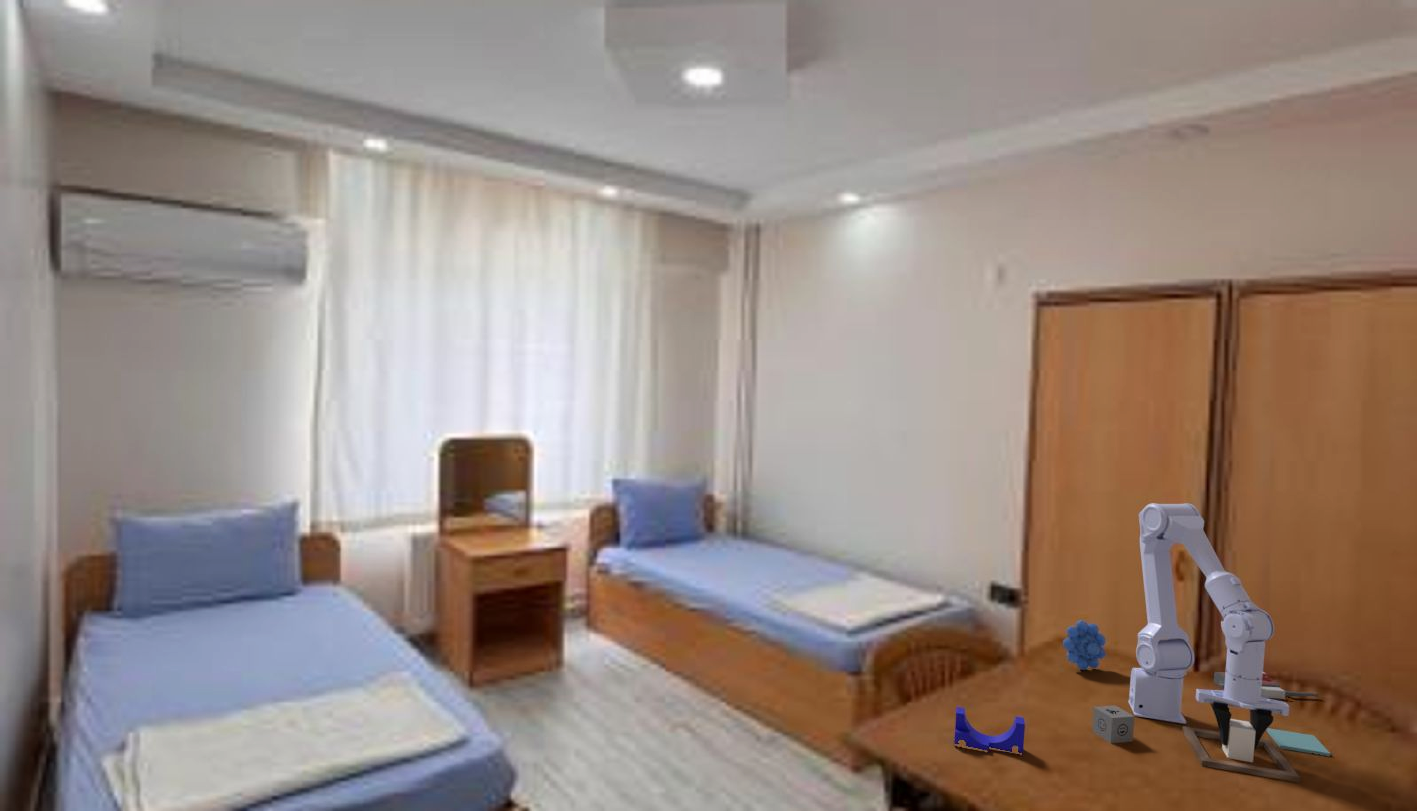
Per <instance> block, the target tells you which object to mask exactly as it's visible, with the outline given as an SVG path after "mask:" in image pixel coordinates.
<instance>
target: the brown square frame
mask: <svg viewBox="0 0 1417 811" xmlns="http://www.w3.org/2000/svg"><path fill="white" fill-rule="evenodd" d="M1182 733H1183V735H1184V736H1185V737H1184V738H1186V741H1188V743H1189V746H1190V747H1191V749H1192V751H1193V753H1194V754H1195V756H1196V758H1197V759H1198V762H1199V763H1200V765H1201V766H1202V767H1208V768H1213V769H1218V770H1224V771H1230V772H1236V773H1243V774H1246V775H1247V774H1248V775H1253V776H1260V777H1265V778H1270V779H1276V780H1282V781H1286V782H1293V783H1298V784H1299V783H1300V780H1301V778H1300V776H1299V774H1298V773H1297V772H1296V770H1295V769H1294V768H1293V767H1292V766H1291V764H1290V763H1289V761H1288V760H1287V759H1286V758H1285V757H1284V755H1283V754H1282V753H1281V752H1280V750H1279V748H1277V746H1276V745H1275V744H1274V743H1273V741H1272V740H1270V739H1264V738H1263V739H1262V738H1261V739H1260V741H1259V743H1258V746H1257V748H1259V747H1260V748H1264V750H1265V751H1266V753H1267V754H1268V755H1269V756H1270V758H1271V759H1272V760H1273V761H1274V763H1275V764H1276V766H1277V767H1278V768H1279V769H1274V768H1268V767H1264V766H1259V765H1258V766H1257V765H1252V764H1245V763H1239V762H1234V761H1230V760H1229V761H1228V760H1223V759H1218V758H1217V759H1216V758H1212V757H1209V755H1208V753H1207V751H1206V750H1205V748H1204V746H1203V745H1202V743H1201V742H1200V739H1199V738H1205V739H1211V740H1216V741H1220V732H1219V731H1216V730H1215V731H1214V730H1208V729H1202V728H1196V727H1189V726H1182ZM1198 737H1199V738H1198Z"/></svg>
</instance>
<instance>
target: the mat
mask: <svg viewBox="0 0 1417 811" xmlns="http://www.w3.org/2000/svg"><path fill="white" fill-rule="evenodd" d="M1266 732H1267V733H1268V735H1269V736H1270V737H1271V739H1272V740H1273V741H1274V742H1275V743H1276V745H1277V746H1278V747H1279V749H1283V750H1289V751H1295V752H1299V753H1300V752H1301V753H1307V754H1312V753H1314V754H1313V755H1317V756H1318V755H1319V754H1320V756H1324V755H1325V757H1331V752H1329V750H1328V749H1327V748H1326V747H1325V746H1324V745H1323V744H1322V743H1321V741H1319V739H1318V738H1317V737H1316V736H1315V735H1313V734H1307V733H1299V732H1295V731H1289V730H1282V729H1274V728H1270V727H1268V728H1267V729H1266Z"/></svg>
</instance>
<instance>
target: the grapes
mask: <svg viewBox="0 0 1417 811" xmlns="http://www.w3.org/2000/svg"><path fill="white" fill-rule="evenodd" d="M1066 635H1067V636H1068V637H1067V638H1064V640H1063V641H1062V647H1063V648H1064V650H1067V653H1066V659H1067V661H1069V662H1070V663H1072V664H1076V666H1077V668H1078V669H1080V670H1082V671H1085V670H1087V669H1089V667H1090V669H1096V668H1098V667H1099V665H1100V660H1102V659H1104V658H1105V657H1106V656H1107V655H1106V654H1107V653H1106V652H1107V651H1106V650H1105V648H1104V645H1106V643H1107V640H1106V637H1105V635H1104V634H1102V633H1100V628H1099V626H1098V625H1097V624H1095V623H1092V622H1090V623H1087V622H1086V621H1085V620H1082V619H1080V620H1078V621H1076V623H1075V626H1073V625H1071V626H1068V627H1067V629H1066Z"/></svg>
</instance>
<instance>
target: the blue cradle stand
mask: <svg viewBox="0 0 1417 811" xmlns="http://www.w3.org/2000/svg"><path fill="white" fill-rule="evenodd" d="M954 722H955V724H954V725H955V726H954V739H955V740H954V741H953V743H954V744H959V743H958V741H959V740H964V741H965V742H966V746H968V747H973V748H978V749H982V750H987V751H988V752H989V751H990V750H989V747H991V748H996V749H1000V750H1005V751H1010V752H1012V747H1013V746H1014V747H1017V746H1018V752H1019V753H1023V754H1024V744H1025V729H1026V722H1025V718H1024V717H1022V716H1017V715H1016V716H1015V717H1014V722H1013V724H1012V726H1011V727H1010V728H1009V729H1008V730H1007V731H1005V732H1004V733H1001V734H997V735H987V734H985V733H981V732H979V731H978V730H976V729H975V728H974V727H973V726H972V725H971V723H970V722H969V720H968V718H967V716H966V708H965V707H961V706H956V708H955V721H954ZM954 744H953V745H954Z"/></svg>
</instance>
